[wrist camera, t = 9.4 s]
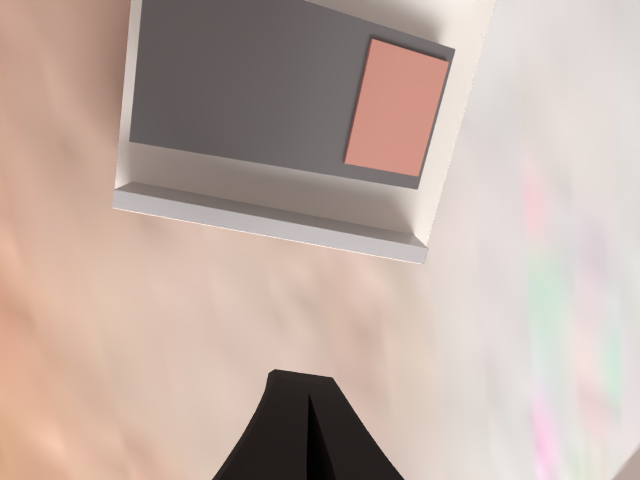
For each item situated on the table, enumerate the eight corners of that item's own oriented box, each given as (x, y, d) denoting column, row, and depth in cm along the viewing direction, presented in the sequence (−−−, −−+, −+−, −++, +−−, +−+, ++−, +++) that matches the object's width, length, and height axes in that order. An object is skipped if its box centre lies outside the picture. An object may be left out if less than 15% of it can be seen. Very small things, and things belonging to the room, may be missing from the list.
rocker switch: (130, 137, 11) (129, 142, 10) (147, -42, 10) (147, -53, 9) (404, 184, 14) (420, 190, 13) (439, 51, 13) (458, 49, 12)
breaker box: (148, 189, 17) (92, 219, 12) (176, -76, 15) (121, -167, 10) (396, 236, 18) (435, 281, 13) (459, -2, 16) (533, -51, 11)
